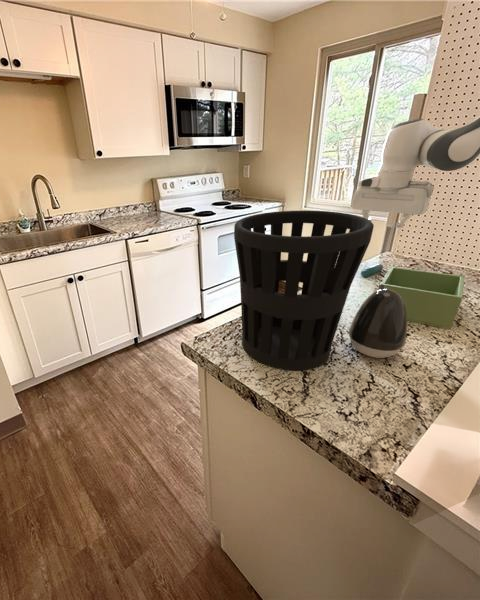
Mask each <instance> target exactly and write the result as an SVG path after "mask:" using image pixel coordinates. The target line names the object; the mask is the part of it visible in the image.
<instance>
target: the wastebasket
mask: <svg viewBox="0 0 480 600" xmlns="http://www.w3.org/2000/svg"><path fill="white" fill-rule="evenodd" d="M284 224H291V230H290V231H291V232H290V235H283V229H284ZM304 224H312V229H311V234H310V236H309V235H308V236H303V229H304ZM266 226H270V234H269V233H268V234H267V233H266ZM327 226H332V229H331V231H330V232H331V233H330V235H325V231H326V227H327ZM374 226H375V225H374V223H373V222H372V220H371V221H370V220H368V219H366V218H364V217H363V216H359V215H355V214H351V213H346V212H339V211H329V210H282V211H281V210H280V211H271V212H264V213H262V212H261V213H257V214H252V215H249V216H244V217H241V218H240V219H238V220H237V221H236V222H235V223H234V226H233V227H234V228H233V229H234V230H233V239H234V247H235V252H236V259H237V265H238V273H239V287H240V307H241V309H240V310H241V328H242V329H241V331H242V333H241V345H242V348H243V350H244V351H245V353H246V354H247V355H248V356H249V357H250V358H251V359H253V360H255V361H256V362H258V363H260V364H262V365H264V366H267V367H270V368H274V369H277V370H283V371H291V372H303V371H309V370H315V369H317V368H320V367H322V366H323V365H324V364H326V363H327V362H328V360H330V359H329V358H330V355H331V350H332V345H333V342H334V338H335V336H336V332H337V329H338V326H339V323H340V321H341V317H342V314H343V311H344V308H345V306H346V305H345V304H346V302H347V301H346V300H347V299H348V295H349V292H350V289H351V286H352V284H353V281H354V279H355V277H356V275H357V273H358V270H359V268H360V265H361V263H362V261H363V258H364V256H365V254H366V252H367V250H368V247H369V245H370V243H371V240H372V236H373V232H374ZM347 230H349V231H348V232H347ZM282 253H285V254H287V259H282ZM305 254H307V256H306V260H304V255H305ZM280 282H285V283H284V284H285V285H284V292H279V288H280V287H279V286H280ZM300 283H301V284H302V285H301V293H300V294H298V292H299V286H300Z"/></svg>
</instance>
